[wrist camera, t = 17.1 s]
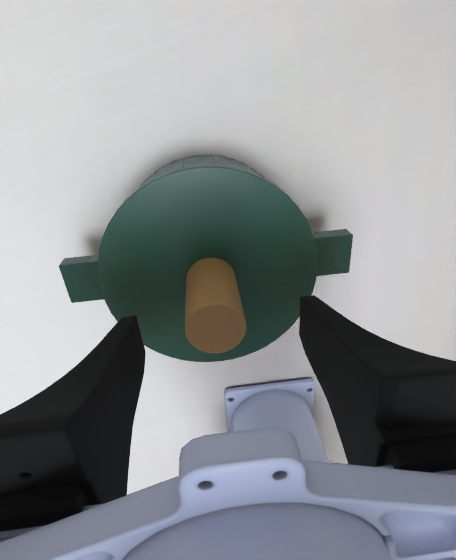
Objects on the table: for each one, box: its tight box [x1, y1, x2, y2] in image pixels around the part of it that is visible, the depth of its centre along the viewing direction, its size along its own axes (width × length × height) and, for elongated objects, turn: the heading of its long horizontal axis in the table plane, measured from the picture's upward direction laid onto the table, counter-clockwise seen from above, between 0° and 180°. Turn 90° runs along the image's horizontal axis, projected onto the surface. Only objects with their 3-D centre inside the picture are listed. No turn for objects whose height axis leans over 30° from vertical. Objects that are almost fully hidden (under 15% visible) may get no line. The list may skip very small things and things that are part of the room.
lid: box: [98, 165, 318, 362], centre depth 17 cm, size 12×12×6 cm
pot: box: [59, 155, 353, 303], centre depth 22 cm, size 11×16×5 cm
